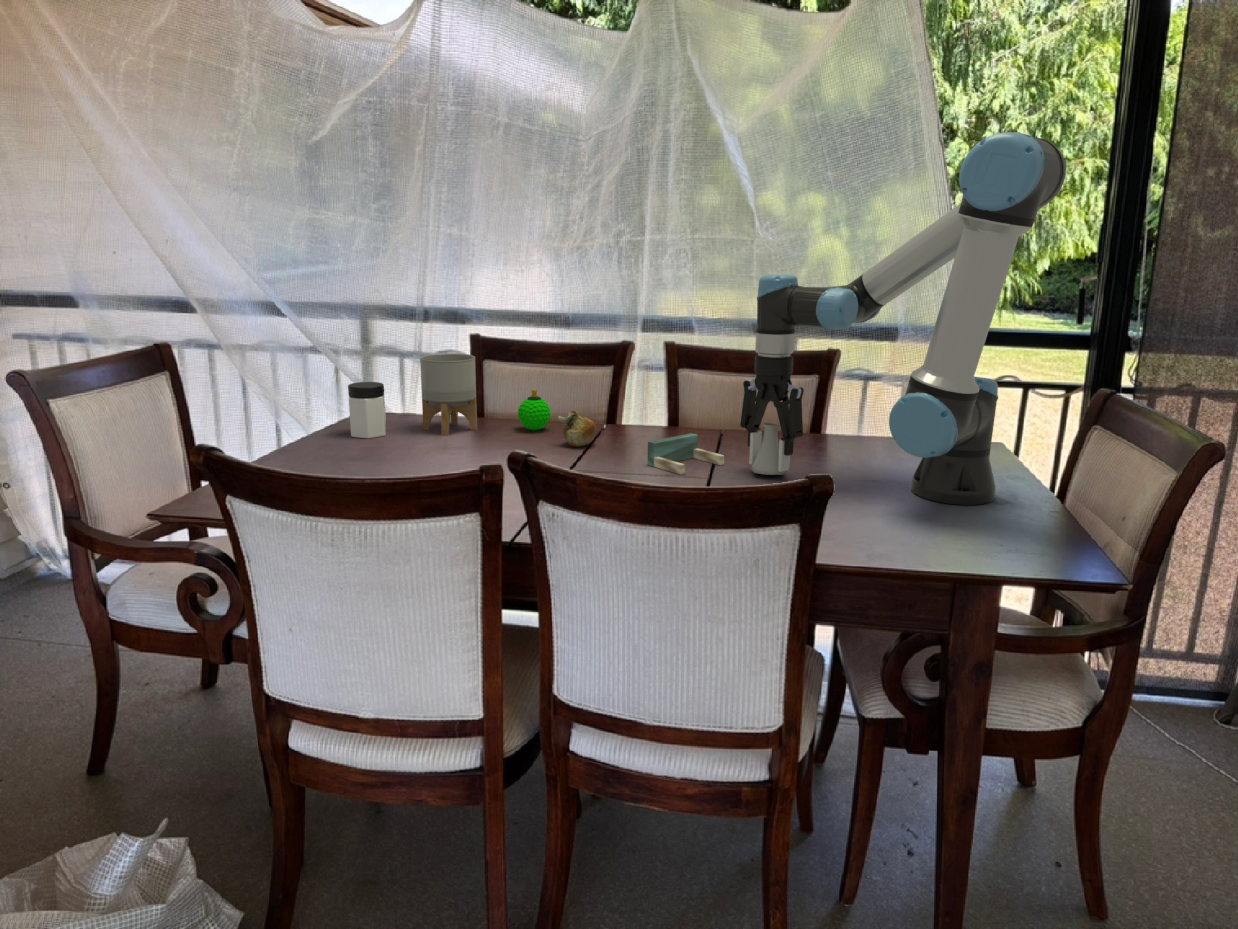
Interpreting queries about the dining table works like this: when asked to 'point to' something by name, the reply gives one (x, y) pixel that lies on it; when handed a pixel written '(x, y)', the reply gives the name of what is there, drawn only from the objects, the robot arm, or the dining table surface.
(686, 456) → the pocket
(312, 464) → the dining table surface
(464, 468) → the dining table surface
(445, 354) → the planter
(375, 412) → the jar
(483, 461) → the dining table surface
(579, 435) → the onion
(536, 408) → the ornament
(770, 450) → the flask
